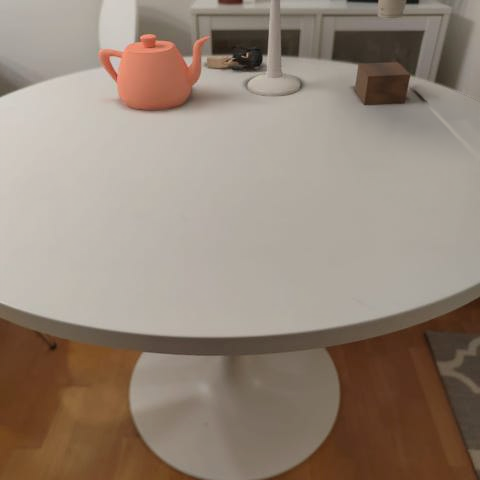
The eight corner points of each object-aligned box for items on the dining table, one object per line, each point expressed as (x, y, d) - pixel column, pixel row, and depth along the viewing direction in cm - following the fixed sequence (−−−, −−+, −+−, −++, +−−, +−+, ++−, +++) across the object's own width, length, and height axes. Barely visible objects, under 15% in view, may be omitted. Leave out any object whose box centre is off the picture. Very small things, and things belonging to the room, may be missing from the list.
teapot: (216, 85, 113) (212, 24, 104) (212, 111, 100) (207, 43, 91) (116, 88, 114) (103, 27, 105) (99, 113, 101) (84, 47, 92)
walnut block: (392, 89, 107) (397, 61, 103) (404, 103, 100) (410, 74, 96) (354, 91, 107) (358, 63, 103) (364, 105, 100) (368, 76, 96)
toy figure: (206, 74, 120) (263, 70, 119) (203, 48, 117) (262, 43, 116) (209, 70, 126) (263, 65, 125) (206, 44, 123) (261, 40, 122)
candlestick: (258, 76, 117) (257, -72, 97) (306, 80, 113) (315, -73, 94) (239, 93, 108) (234, -66, 89) (291, 98, 105) (298, -67, 85)
